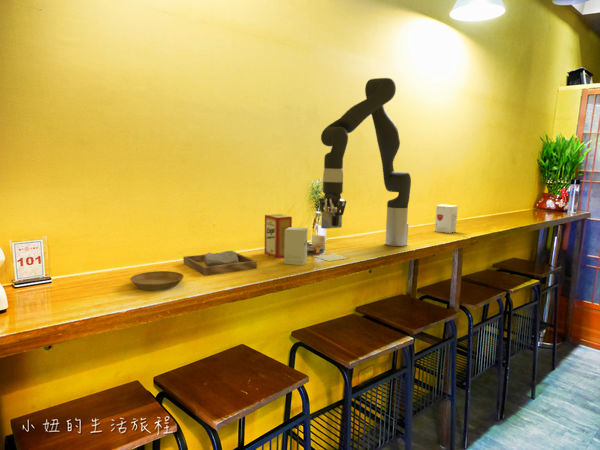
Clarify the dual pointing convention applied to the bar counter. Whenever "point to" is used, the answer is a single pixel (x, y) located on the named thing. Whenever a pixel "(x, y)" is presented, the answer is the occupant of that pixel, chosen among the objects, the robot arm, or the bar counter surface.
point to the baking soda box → (276, 234)
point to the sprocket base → (316, 253)
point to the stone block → (220, 258)
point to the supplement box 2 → (446, 218)
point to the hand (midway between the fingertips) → (331, 225)
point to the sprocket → (316, 244)
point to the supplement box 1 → (295, 246)
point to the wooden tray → (243, 265)
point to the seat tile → (330, 257)
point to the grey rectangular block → (329, 220)
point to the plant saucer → (156, 280)
